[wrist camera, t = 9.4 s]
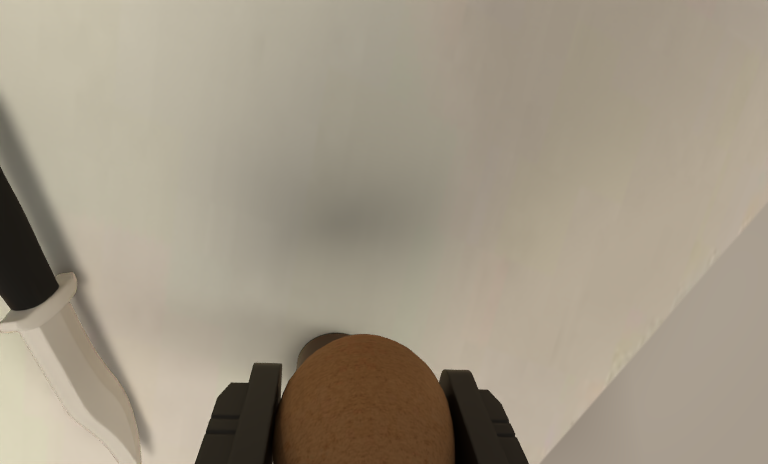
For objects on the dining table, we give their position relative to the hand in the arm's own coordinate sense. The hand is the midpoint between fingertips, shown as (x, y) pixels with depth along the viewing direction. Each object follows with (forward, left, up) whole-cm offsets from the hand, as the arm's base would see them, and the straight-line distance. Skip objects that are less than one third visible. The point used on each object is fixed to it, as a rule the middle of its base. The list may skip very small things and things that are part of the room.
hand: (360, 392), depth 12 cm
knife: (+15, -5, -14) cm, 21 cm away
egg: (0, 0, -2) cm, 2 cm away
